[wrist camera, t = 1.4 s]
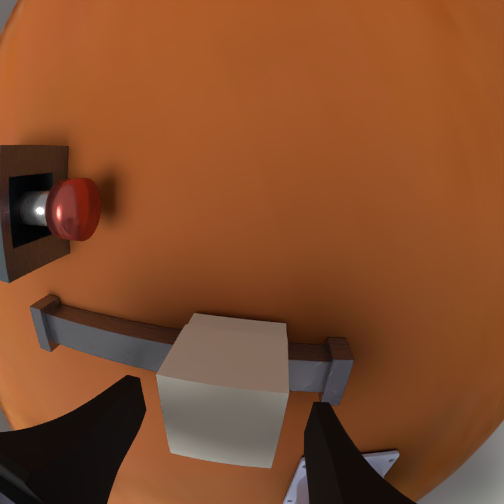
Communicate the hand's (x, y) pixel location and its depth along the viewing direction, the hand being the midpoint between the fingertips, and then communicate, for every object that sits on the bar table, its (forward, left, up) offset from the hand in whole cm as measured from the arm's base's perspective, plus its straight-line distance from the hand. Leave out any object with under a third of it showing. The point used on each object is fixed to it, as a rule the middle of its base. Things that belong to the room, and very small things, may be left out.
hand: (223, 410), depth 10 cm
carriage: (0, 0, -4) cm, 4 cm away
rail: (0, +3, -4) cm, 6 cm away
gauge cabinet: (+7, +12, -4) cm, 15 cm away
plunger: (+7, +9, -3) cm, 12 cm away
